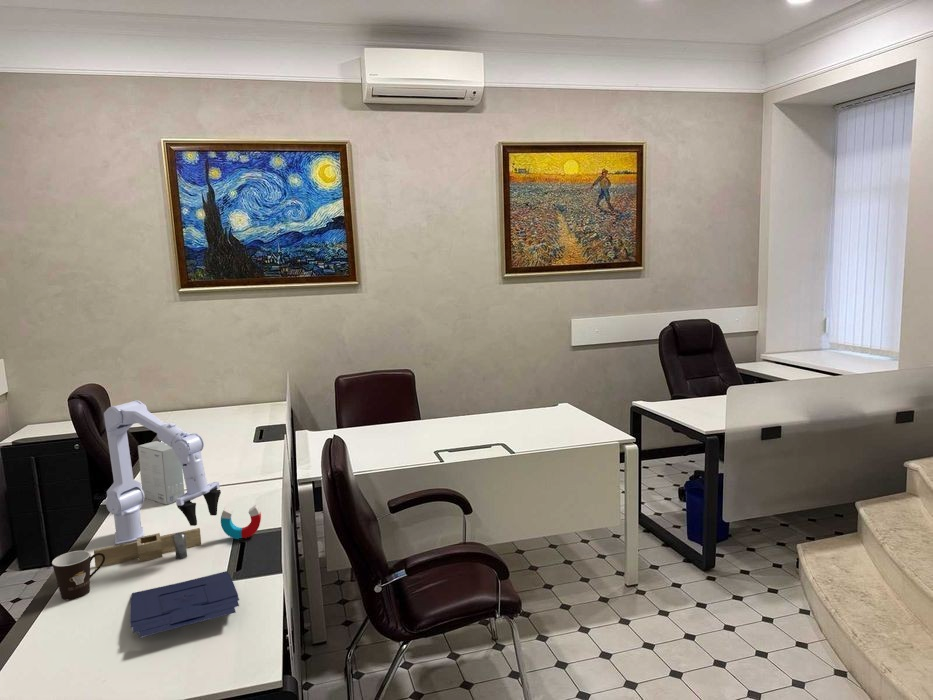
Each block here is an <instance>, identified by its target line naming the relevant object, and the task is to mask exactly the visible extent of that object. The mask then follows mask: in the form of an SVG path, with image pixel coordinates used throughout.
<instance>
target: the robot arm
mask: <svg viewBox="0 0 933 700" xmlns="http://www.w3.org/2000/svg"><path fill="white" fill-rule="evenodd" d="M103 417H104V425H105V431H106V436H107V441H108V443H107V444H108V451H109V456H110V457H109V458H110V464H111V465H110V466H111V472H112V479H113V483H112V484H111V486H110V487H109V488H108V489H107V490H106V500H105V505H106V508H107V509H106V510H107V511H108V512H109V513H110V514H111V515H113V519H114V527H115V528H114V529H115V531H114V544H115V545H120V544H125V543H130V542H135V541H137V538H138V537H143V536H145V534H144V527H143V526H142V521H141V520H142V519H141V518H142V517H141V510H140V509H141V508H142V507H143V506H142V504H143V503H144V502H145V499H146V498H145V495H144V492H143V490H142V484H141V482H140V481H139V480H136V479H134V473H133V467H132V460H131V454H130V453H131V451H130V446H129V444H130V443H129V437H128V430H129V429H130V428H132V426H133V425H134V424H139V425H141V426H143V427H145V428H146V429H148V430H150V431H152V432H154V433H156V435H157V437H156V438H157V439H158V441H160V442H163V443H165V444H167V445H169V446H170V447H172V448H173V451H174V453H175V455H176V456H177V457H178V460H179V462H180V464H181V465H182V472H183V480H184V483H185V484H184V485H185V488H186V492H184V495H182V496H181V497H179V498H177V499H175V500H176V502H175V503H176V506H177V509H179V510H180V511H181V512H182V514H183V515H184V517H186V519H187V521H188V523H189V526H190V527H191V526H192V527H193V526H194V527H195V526H197V525H198V520H197V513H196V507H197V503H196V502H192V500H195V499H198V498H199V497H201V496H203V497H204V500H205V502H206V505H207V509H208V513H209V514H210V515H209V516H217V515H218V504H219V499H220V496H221V493H222V491H221V489H220V482H219V481H213V482H211V483H208V482H207V481H208V480H207V477H206V472H205V466H204V462H203V457H202V451H203V449H204V444H205V443H204V440H203V438H202V436H200V435H199V434H198V433H190V432H189V433H188V432H187V431H186V430H183V429H181V428H180V427H179V426H177V425H176V424H175V423H174V422H166V423H165V422H164V421H162V420H161V419H159V417H157V416H156V415H154V414H153V413H151V411H149V410H148V407H147V405H146V404H145V403H143V402H142V401H140V400H138V399H135V400H133V401H130V402H129V401H128V402H125V403H121V404H118V405H113V406H109V407H108V408H107V409H106V410H105V411H104V412H103Z"/></svg>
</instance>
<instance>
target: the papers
mask: <svg viewBox="0 0 933 700" xmlns="http://www.w3.org/2000/svg"><path fill="white" fill-rule="evenodd" d="M239 601H240V598H239V593H238V591H237V588H236V586H235V584H234V581H233V578H232V576H231V574H230V573H229V572H228V570H226V571H222V572H218V573H214V574H210V575H209V574H208V575H206V576H202V577H197V578H194V579H190V580H185V581H182V582H177V583H172V584H167V585H162V586H159V587H154V588H153V587H152V588H149V589H144V590H140V591H139V590H138V591H137V592H136V591H135V592H132V593H131V597H130V609H129V611H130V614H129V615H130V617H129V621H130V622H129V623H130V628H132V634H135V633H138V638H144V637H147V636H151V635H154V634H158V633H162V632H166V631H171V630H173V629H177V628H182V627H184V626H189V625H192V624H196V623H200V622H204V621H208V620H211V619H215V618H221V617H224V616H229V615H231V614H235V613H237V612H236V609H235V608H236V607H240V603H239Z"/></svg>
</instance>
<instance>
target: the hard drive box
mask: <svg viewBox="0 0 933 700" xmlns="http://www.w3.org/2000/svg"><path fill="white" fill-rule="evenodd" d="M137 453H138V461H139V473H140V481H141V482H140V483H141V488H142V490H143V492H144V495H145V499H147V500H150V501H153V502H156V503H160V504H163V505H170V504H172V503H176V500H175V499H177V498H179V497H181V496H182V495H184V494H185V484H184V483H185V482H184V474H183V469H182V465H181V464H180V462H179V460H178V457H177V456H176V455H175V453H174V451H173V448H172V447H170V446H169V445H167V444H165V443H164V442H162V441H159V440H158V441H157V440H155V441H151V442H147V443H144V444H140V445H137Z"/></svg>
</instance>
